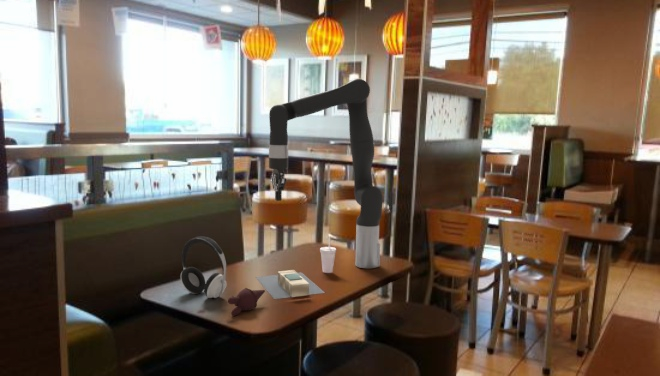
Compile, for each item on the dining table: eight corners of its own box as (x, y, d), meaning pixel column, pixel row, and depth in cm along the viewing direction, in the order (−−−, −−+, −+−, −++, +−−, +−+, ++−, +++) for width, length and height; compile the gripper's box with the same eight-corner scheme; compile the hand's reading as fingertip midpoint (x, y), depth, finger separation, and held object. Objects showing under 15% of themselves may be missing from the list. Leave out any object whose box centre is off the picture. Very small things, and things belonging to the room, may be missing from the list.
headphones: (234, 297, 163) (233, 238, 160) (216, 305, 155) (215, 243, 153) (191, 286, 172) (191, 230, 169) (173, 293, 165) (172, 235, 162)
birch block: (277, 270, 176) (292, 284, 162) (293, 269, 179) (309, 282, 164) (277, 282, 177) (291, 297, 162) (293, 280, 179) (309, 294, 165)
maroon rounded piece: (254, 280, 160) (219, 297, 149) (270, 279, 156) (235, 296, 144) (259, 301, 161) (224, 319, 149) (275, 300, 156) (241, 319, 144)
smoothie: (334, 276, 187) (334, 240, 185) (317, 274, 188) (318, 239, 187) (337, 271, 193) (338, 236, 192) (321, 269, 195) (321, 235, 193)
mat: (255, 278, 182) (255, 277, 182) (301, 273, 189) (301, 272, 189) (274, 300, 160) (274, 299, 160) (325, 294, 167) (325, 292, 167)
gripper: (293, 157, 187) (292, 202, 189) (282, 155, 199) (282, 197, 201) (274, 158, 184) (273, 203, 186) (264, 155, 196) (264, 198, 198)
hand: (278, 200), depth 194 cm, fingers closed
